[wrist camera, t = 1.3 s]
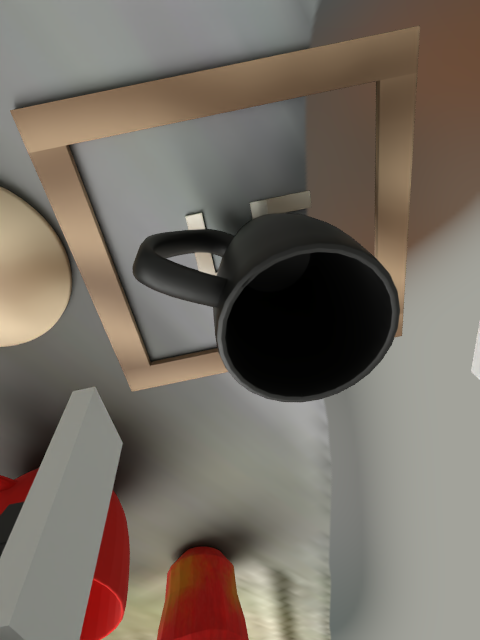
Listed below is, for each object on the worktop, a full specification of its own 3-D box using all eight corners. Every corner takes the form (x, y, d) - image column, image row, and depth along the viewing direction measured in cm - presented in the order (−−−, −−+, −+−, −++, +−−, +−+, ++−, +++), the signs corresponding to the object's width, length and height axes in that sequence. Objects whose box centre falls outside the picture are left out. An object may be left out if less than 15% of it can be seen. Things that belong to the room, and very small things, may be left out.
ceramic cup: (54, 378, 28) (-9, 502, 19) (167, 498, 36) (159, 622, 28) (-86, 440, 29) (-202, 581, 21) (54, 542, 38) (13, 672, 29)
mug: (180, 135, 20) (170, 158, 12) (357, 223, 24) (440, 287, 16) (133, 265, 24) (101, 350, 16) (294, 325, 27) (336, 421, 19)
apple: (153, 574, 43) (141, 721, 33) (174, 532, 39) (168, 683, 29) (224, 580, 45) (233, 719, 35) (250, 541, 41) (268, 683, 31)
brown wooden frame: (14, 110, 19) (9, 110, 19) (415, 27, 19) (420, 25, 19) (132, 387, 29) (131, 391, 29) (398, 332, 29) (401, 335, 29)
